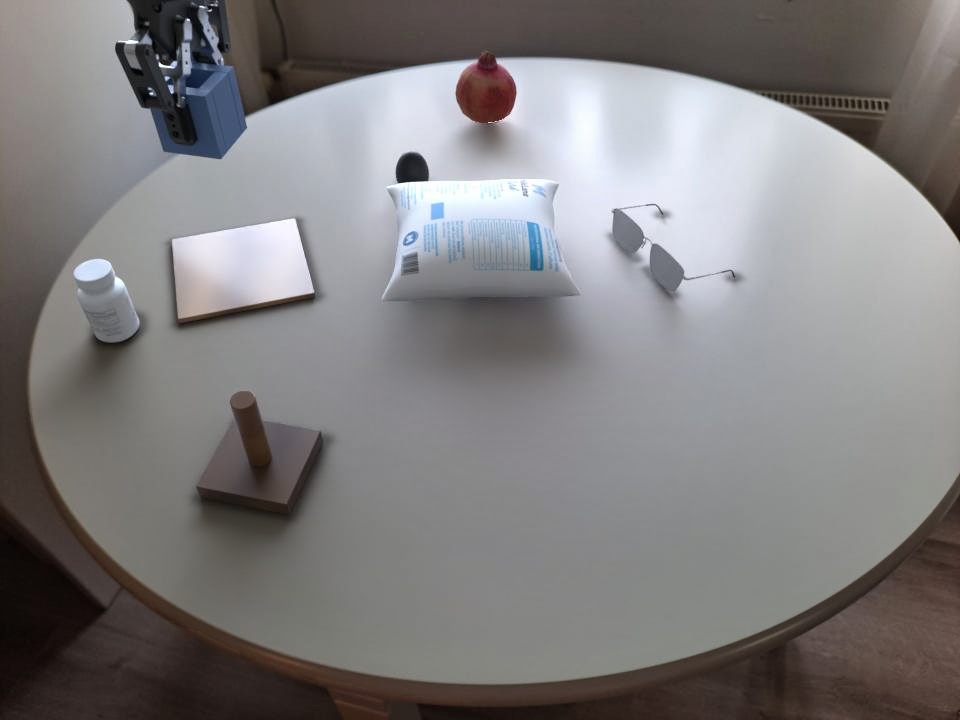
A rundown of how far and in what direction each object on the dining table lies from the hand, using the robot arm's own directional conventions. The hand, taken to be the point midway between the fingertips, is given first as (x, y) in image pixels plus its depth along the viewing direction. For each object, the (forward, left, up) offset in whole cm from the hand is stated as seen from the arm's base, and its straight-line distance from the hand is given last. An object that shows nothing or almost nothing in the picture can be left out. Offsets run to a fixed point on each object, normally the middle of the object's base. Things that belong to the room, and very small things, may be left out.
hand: (201, 124), depth 73 cm
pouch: (+25, -4, -20) cm, 32 cm away
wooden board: (0, +3, -19) cm, 20 cm away
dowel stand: (-1, -25, -19) cm, 31 cm away
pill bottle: (-13, -3, -20) cm, 24 cm away
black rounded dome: (+22, +13, -20) cm, 32 cm away
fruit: (+35, +26, -20) cm, 48 cm away
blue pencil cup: (0, 0, -1) cm, 1 cm away
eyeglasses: (+46, -8, -20) cm, 51 cm away
